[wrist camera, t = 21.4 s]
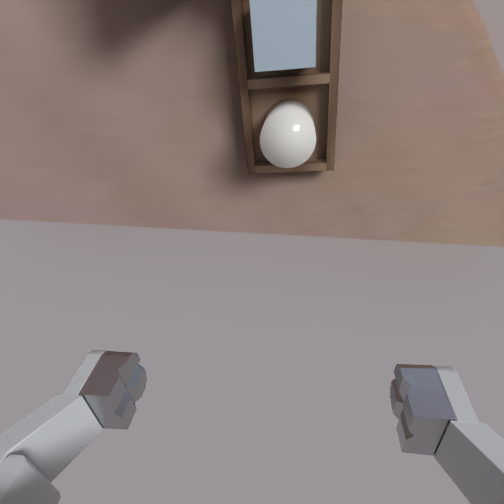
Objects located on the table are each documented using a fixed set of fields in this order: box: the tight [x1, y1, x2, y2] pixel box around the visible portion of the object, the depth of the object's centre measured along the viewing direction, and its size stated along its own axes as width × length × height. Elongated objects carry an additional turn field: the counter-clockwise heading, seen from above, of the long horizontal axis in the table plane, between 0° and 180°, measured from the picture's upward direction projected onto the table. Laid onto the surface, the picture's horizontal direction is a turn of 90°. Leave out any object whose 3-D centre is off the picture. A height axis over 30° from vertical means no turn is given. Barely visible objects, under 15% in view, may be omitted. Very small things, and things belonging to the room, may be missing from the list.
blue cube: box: [249, 0, 317, 72], centre depth 29 cm, size 5×5×5 cm
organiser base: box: [231, 0, 342, 173], centre depth 33 cm, size 9×17×3 cm, turn 5°
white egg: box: [260, 98, 316, 168], centre depth 33 cm, size 5×5×6 cm
